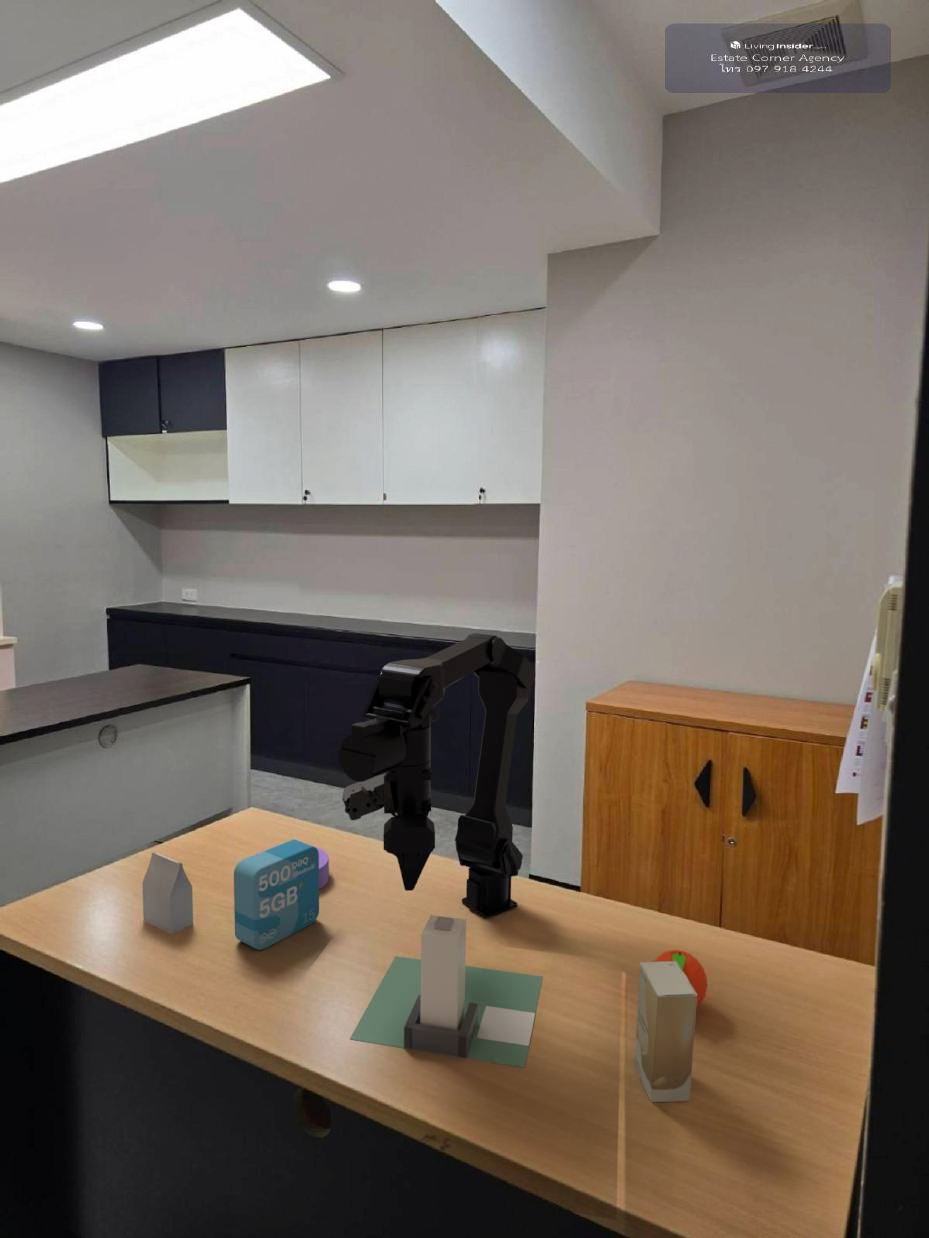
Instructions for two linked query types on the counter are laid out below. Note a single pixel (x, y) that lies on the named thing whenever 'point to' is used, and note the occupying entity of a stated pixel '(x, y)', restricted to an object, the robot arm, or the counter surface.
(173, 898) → the grey milk carton
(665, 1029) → the skincare box
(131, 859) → the counter surface
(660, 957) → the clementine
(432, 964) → the white tall block
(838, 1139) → the counter surface
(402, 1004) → the board
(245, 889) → the data package
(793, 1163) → the counter surface
